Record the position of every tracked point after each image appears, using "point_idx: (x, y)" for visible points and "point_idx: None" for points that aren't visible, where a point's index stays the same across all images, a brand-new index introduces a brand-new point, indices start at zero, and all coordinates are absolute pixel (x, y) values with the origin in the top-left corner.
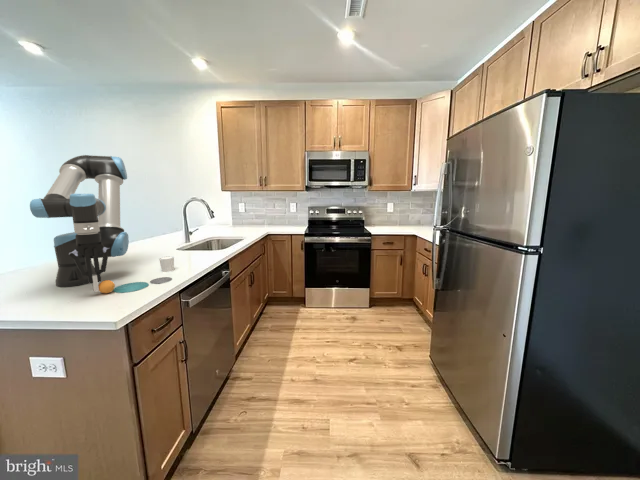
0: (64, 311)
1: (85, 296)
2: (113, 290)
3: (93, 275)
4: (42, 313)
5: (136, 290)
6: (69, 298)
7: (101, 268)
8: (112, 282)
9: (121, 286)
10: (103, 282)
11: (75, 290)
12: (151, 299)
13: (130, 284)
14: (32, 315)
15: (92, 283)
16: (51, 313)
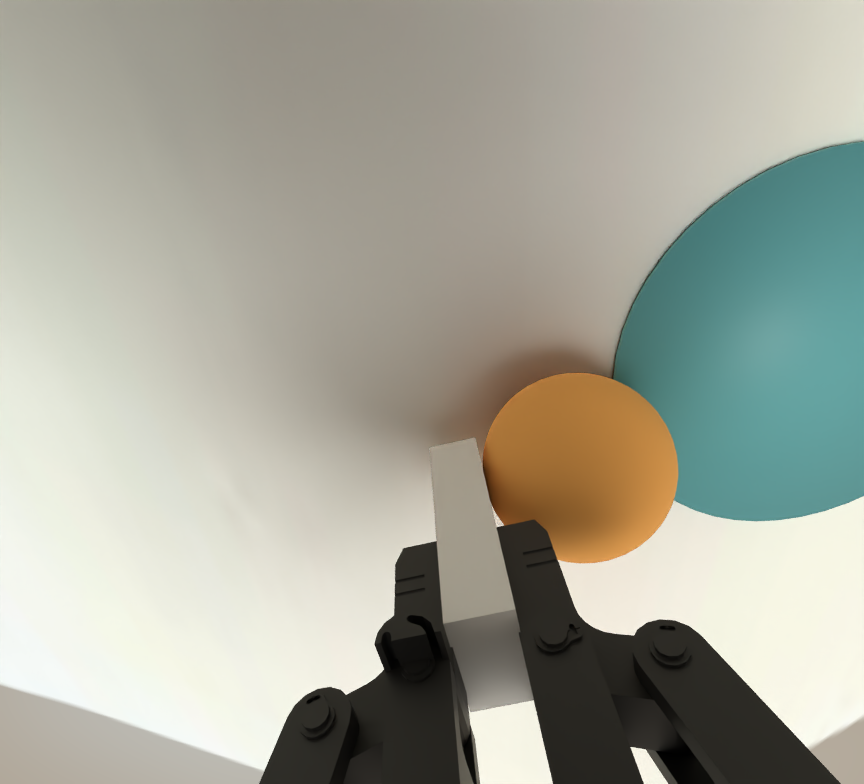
0: (267, 688)
1: (345, 413)
2: None
3: (485, 686)
4: (115, 655)
5: (807, 511)
6: (189, 388)
7: (669, 708)
8: (667, 511)
9: (729, 266)
10: (570, 557)
11: (133, 8)
12: (806, 744)
13: (846, 239)
14: (57, 659)
15: (435, 510)
16: (186, 682)
